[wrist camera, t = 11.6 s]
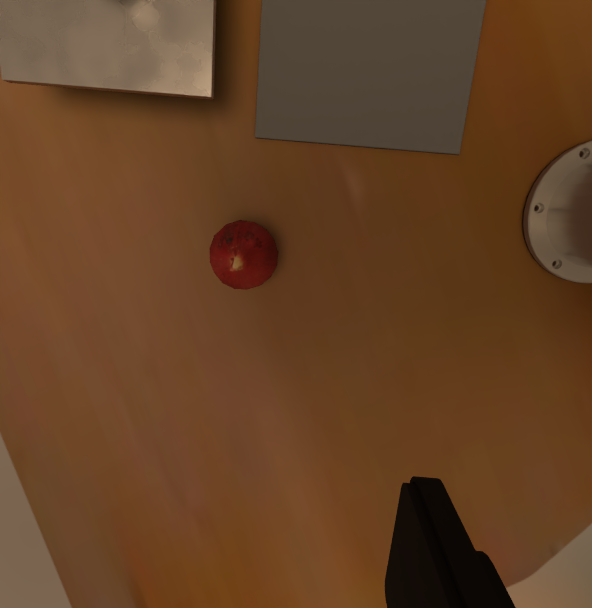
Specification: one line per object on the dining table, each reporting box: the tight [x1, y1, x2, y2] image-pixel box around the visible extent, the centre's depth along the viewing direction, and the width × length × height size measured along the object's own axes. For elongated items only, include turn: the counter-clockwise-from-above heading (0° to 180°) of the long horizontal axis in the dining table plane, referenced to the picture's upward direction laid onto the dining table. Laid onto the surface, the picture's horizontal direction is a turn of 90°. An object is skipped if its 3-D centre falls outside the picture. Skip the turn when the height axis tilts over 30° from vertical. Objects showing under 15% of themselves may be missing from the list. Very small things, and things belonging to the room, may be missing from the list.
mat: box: [255, 0, 486, 155], centre depth 32 cm, size 18×18×1 cm
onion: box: [210, 220, 278, 289], centre depth 34 cm, size 6×6×8 cm
